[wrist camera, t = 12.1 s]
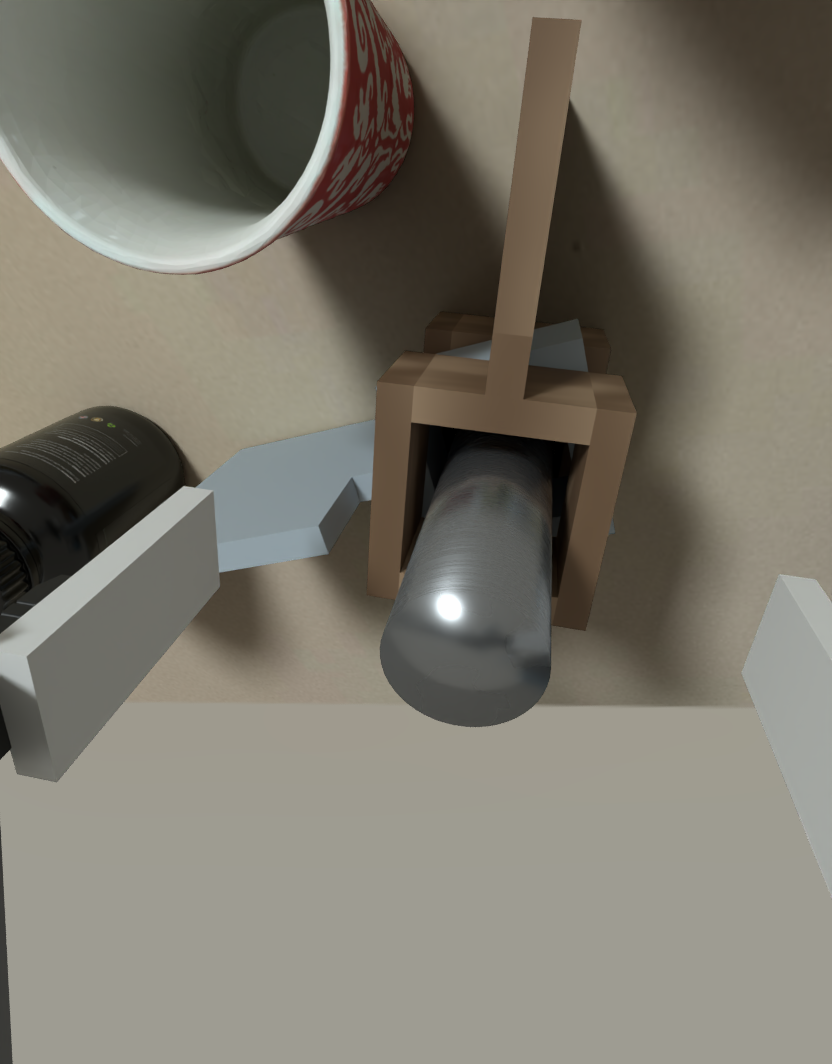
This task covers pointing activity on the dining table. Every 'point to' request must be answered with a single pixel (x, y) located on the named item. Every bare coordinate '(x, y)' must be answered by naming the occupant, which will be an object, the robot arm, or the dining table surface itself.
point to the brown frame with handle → (510, 373)
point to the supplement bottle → (78, 493)
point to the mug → (199, 120)
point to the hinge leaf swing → (339, 475)
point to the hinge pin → (478, 586)
